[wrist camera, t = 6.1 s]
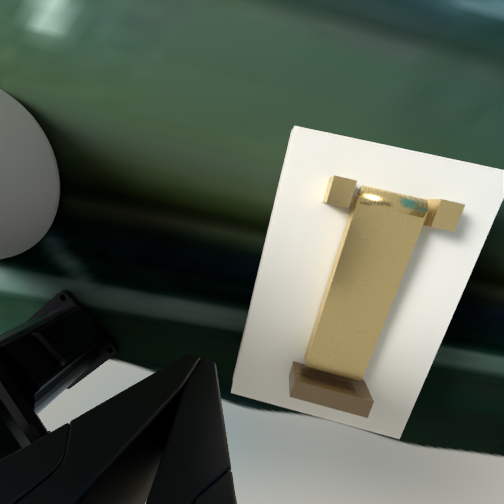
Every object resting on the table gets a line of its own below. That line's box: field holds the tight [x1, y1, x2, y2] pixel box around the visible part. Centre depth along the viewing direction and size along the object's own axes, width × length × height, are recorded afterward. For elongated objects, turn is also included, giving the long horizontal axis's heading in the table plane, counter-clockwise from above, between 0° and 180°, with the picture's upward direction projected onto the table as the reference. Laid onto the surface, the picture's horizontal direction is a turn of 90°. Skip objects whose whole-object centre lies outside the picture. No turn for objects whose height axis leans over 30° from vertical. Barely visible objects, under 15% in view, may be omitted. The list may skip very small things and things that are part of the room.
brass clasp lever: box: [304, 185, 428, 381], centre depth 13 cm, size 10×3×1 cm, turn 167°
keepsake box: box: [231, 126, 504, 439], centre depth 15 cm, size 15×10×7 cm
